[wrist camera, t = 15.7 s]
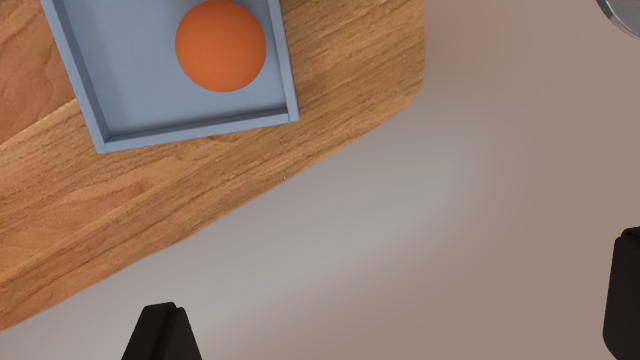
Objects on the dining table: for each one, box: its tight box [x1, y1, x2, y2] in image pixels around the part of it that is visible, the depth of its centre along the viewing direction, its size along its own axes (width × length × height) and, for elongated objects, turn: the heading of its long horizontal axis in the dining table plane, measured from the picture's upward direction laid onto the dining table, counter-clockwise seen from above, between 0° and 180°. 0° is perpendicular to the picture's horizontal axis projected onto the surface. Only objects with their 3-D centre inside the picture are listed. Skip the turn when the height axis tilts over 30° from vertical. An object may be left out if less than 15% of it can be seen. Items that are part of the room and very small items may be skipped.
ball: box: [175, 0, 266, 92], centre depth 32 cm, size 6×6×6 cm
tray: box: [40, 0, 300, 154], centre depth 34 cm, size 16×13×2 cm
